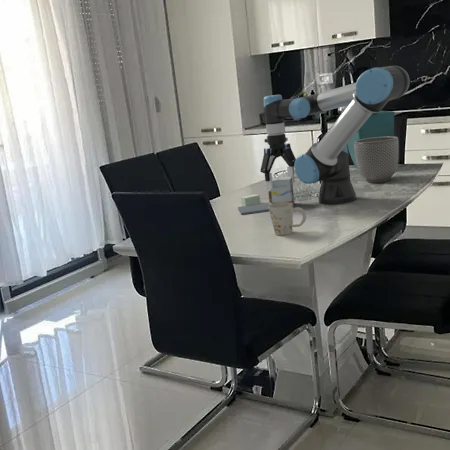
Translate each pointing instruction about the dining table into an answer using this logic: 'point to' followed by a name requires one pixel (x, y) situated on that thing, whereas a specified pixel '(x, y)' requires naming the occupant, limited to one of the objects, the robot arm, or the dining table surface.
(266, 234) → the dining table surface
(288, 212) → the mug
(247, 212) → the slate pad
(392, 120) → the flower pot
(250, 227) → the dining table surface
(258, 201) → the sage block
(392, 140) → the planter
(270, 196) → the walnut block
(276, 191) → the ink box
